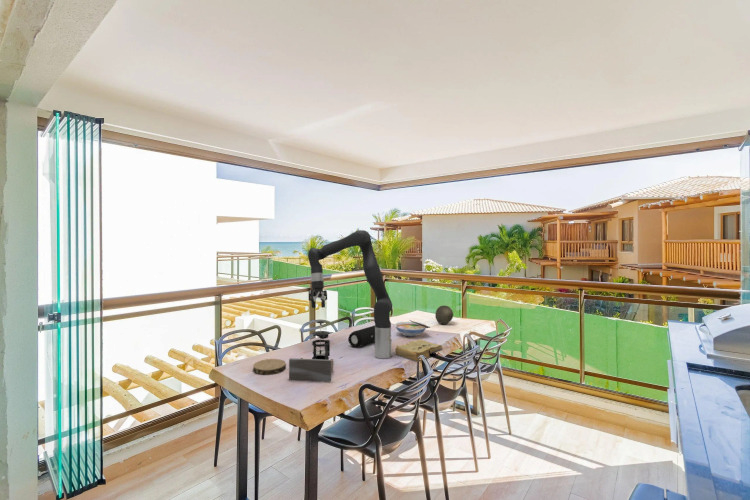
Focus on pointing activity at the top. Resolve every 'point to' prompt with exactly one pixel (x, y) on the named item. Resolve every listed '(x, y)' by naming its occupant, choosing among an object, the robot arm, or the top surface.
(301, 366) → the docking bay
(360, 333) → the portable speaker
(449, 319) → the dark grey ball
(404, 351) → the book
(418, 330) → the ramen bowl
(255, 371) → the wood slice
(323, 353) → the french press
